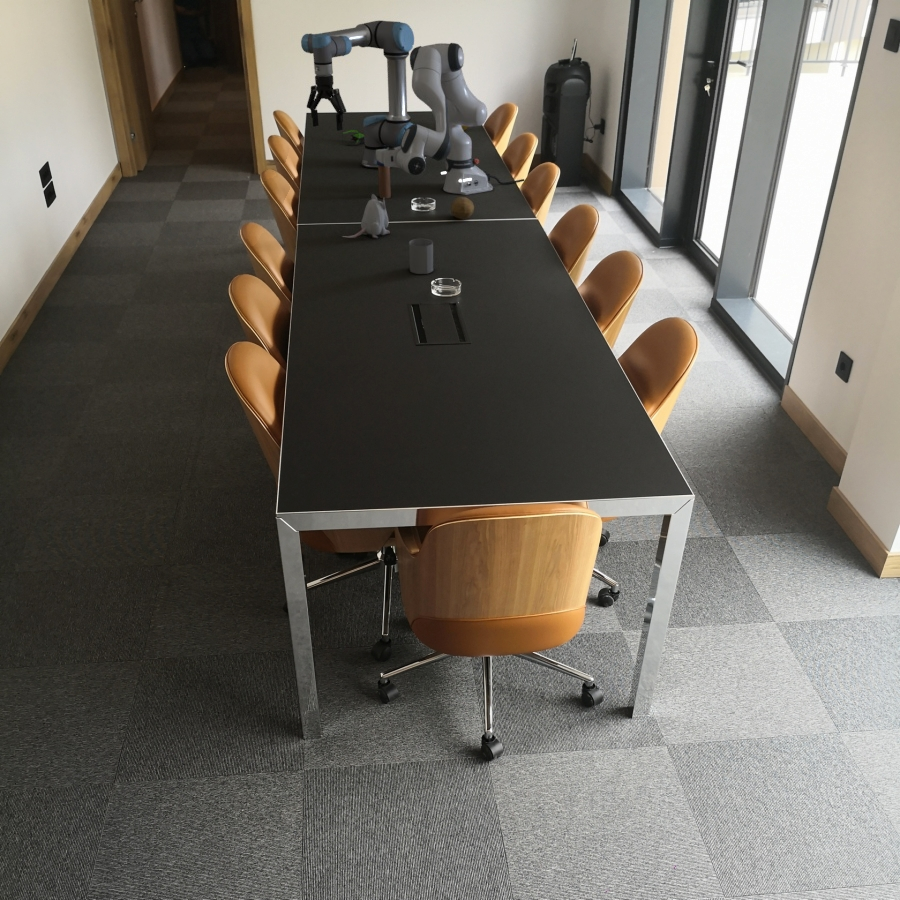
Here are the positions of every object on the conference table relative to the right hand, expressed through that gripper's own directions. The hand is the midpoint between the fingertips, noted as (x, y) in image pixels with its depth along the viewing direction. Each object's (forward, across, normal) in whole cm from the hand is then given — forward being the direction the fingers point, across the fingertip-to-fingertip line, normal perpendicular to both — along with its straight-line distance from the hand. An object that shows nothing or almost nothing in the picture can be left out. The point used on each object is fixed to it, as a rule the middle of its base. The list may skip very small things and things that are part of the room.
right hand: (396, 150), depth 353 cm
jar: (+22, 0, +24) cm, 33 cm away
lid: (+21, 0, +9) cm, 23 cm away
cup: (-69, +10, +27) cm, 74 cm away
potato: (-18, -22, +25) cm, 38 cm away
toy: (-30, +21, +26) cm, 45 cm away
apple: (+132, -74, +20) cm, 152 cm away
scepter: (+119, -18, +21) cm, 122 cm away
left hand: (+34, +21, -4) cm, 40 cm away
